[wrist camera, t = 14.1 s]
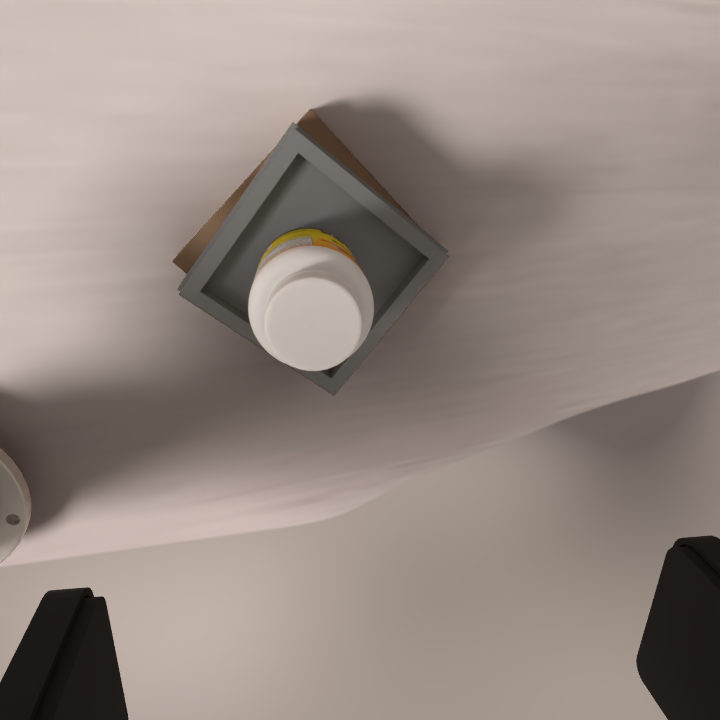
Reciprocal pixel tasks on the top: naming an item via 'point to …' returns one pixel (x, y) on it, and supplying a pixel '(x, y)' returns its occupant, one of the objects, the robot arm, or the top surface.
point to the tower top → (322, 211)
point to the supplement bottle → (310, 300)
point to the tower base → (306, 123)
